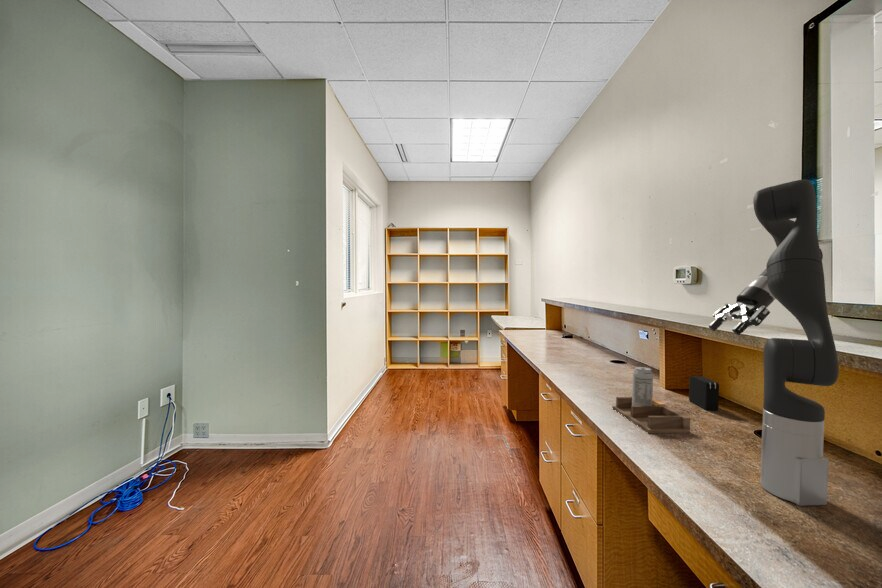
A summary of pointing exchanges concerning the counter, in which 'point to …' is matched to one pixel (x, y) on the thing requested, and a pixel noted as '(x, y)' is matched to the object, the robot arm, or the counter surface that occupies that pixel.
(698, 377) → the electronic device
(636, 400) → the energy drink can
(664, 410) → the divided wooden tray
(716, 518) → the counter surface
